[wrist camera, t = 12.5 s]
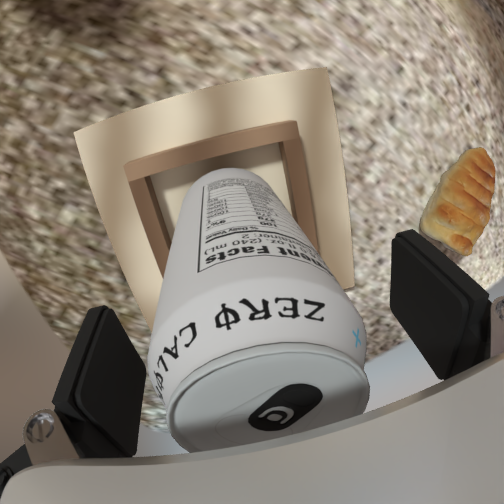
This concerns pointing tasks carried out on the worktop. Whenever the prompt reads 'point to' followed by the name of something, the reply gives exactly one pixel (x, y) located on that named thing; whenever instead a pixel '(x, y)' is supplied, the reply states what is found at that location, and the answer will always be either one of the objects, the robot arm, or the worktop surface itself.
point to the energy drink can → (251, 323)
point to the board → (219, 167)
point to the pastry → (461, 202)
